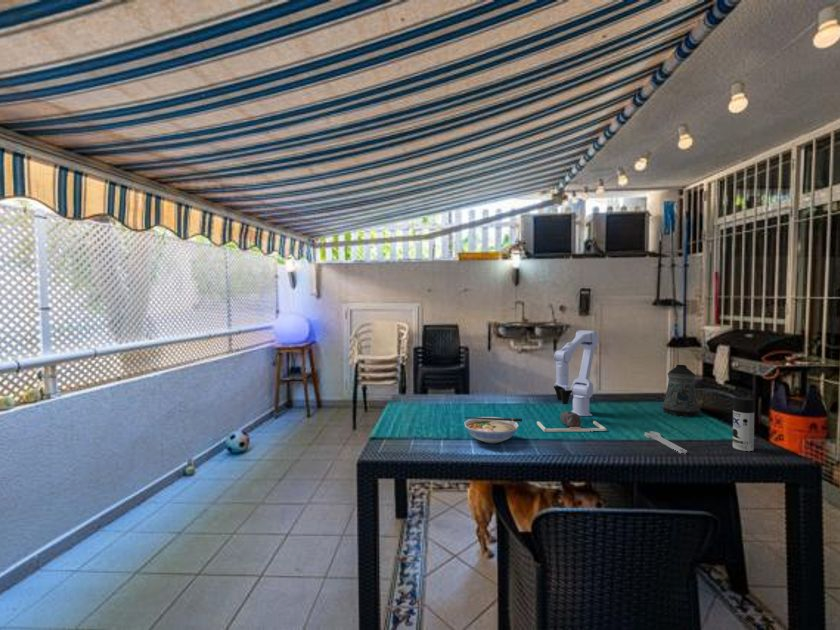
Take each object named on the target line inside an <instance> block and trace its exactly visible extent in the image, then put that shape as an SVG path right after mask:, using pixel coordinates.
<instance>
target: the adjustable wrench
mask: <svg viewBox="0 0 840 630" xmlns="http://www.w3.org/2000/svg"><path fill="white" fill-rule="evenodd" d="M643 436H644V437H645V436H646V438H647V439H652V440H656V441H658V442H660V443H661V444H662V445H664V446H666V447H668V448H670V449H672V450H673V449H674V450H673V451H675V450H676V451H675V452H677V451H678V452H677V453H678V454H681V453H684V454H683V455H687V454H688V450H686V449H685V448H683V447H681V446H679V445H677V444H675V443H673V442H672V441H669V440H668V439H666V438H663V437H662V436H661V433H659V432H656V431H654V430H650V431H649V432H647V431H645V432H644V435H643ZM686 453H687V454H686Z"/></svg>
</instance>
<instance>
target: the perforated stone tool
mask: <svg viewBox="0 0 840 630" xmlns="http://www.w3.org/2000/svg"><path fill="white" fill-rule="evenodd" d="M559 419H560V421H561V422H562V424H563V425H565V426H566V427H568V428H569V427H581V425H582V420H581V416H579V415H578V414H576V413H573V412H571V411H569V410H568V411H567V410H566V411H564V410H563V411H561V413H560V418H559Z"/></svg>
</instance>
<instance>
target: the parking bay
mask: <svg viewBox="0 0 840 630" xmlns="http://www.w3.org/2000/svg"><path fill="white" fill-rule="evenodd" d="M592 423H593V425H594V426H596V427H597V428H596V427H590V428H582V427H581V426H579V427H568V428H546V427H545V426H544V425H543V424H542V422H540V421H536V425H537V426H538V427H539V428H540V430H542V431H543V432H544V433H567V432H568V433H572V432H573V433H575V432H576V433H581V432H585V433H586V432H587V433H591V432H593V431H608V428H606V427H605V426H603V425H602V424H600V423H599V422H597V421H596V420H593V421H592ZM590 431H591V432H590ZM593 433H594V432H593Z"/></svg>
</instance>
